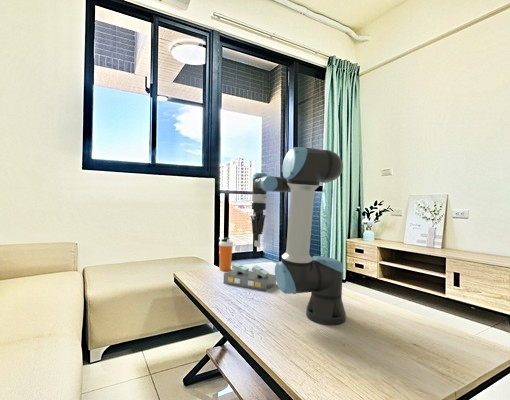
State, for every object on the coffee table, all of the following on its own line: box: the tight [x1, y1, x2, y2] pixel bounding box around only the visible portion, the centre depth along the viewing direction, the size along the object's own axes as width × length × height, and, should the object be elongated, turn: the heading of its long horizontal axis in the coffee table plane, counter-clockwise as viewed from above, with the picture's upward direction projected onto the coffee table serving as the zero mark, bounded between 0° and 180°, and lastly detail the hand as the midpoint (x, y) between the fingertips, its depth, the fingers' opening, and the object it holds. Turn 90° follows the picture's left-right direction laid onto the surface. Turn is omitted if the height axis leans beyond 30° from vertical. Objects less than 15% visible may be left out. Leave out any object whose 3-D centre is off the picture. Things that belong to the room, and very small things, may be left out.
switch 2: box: [251, 264, 270, 278], centre depth 146 cm, size 5×8×2 cm, turn 64°
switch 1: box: [231, 262, 250, 273], centre depth 151 cm, size 5×8×2 cm, turn 64°
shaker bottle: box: [218, 237, 234, 272], centre depth 177 cm, size 9×9×20 cm
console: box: [223, 269, 277, 292], centre depth 149 cm, size 13×25×6 cm, turn 64°
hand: (257, 246), depth 148 cm, fingers closed
